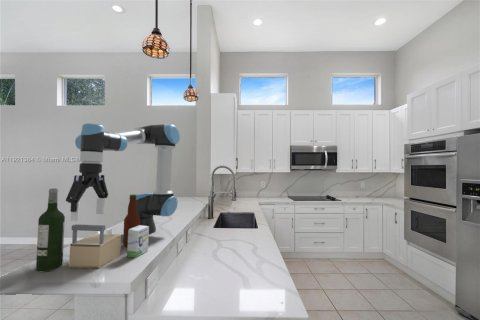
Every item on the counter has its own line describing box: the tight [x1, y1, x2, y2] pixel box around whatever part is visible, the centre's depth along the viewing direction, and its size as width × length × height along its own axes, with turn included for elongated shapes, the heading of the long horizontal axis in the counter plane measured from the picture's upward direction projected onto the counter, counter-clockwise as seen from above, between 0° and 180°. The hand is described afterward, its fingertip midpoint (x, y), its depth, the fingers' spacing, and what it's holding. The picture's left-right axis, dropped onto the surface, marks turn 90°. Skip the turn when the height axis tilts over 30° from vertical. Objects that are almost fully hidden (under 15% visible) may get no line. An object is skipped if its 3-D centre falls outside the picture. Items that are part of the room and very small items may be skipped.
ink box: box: [126, 225, 150, 259], centre depth 104 cm, size 9×5×12 cm, turn 168°
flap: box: [69, 224, 122, 247], centre depth 96 cm, size 14×12×8 cm
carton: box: [68, 236, 122, 269], centre depth 96 cm, size 14×12×8 cm
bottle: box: [122, 194, 140, 248], centre depth 116 cm, size 7×7×25 cm
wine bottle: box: [35, 188, 66, 272], centre depth 89 cm, size 8×8×30 cm
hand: (88, 217), depth 91 cm, fingers open, 13 cm apart
